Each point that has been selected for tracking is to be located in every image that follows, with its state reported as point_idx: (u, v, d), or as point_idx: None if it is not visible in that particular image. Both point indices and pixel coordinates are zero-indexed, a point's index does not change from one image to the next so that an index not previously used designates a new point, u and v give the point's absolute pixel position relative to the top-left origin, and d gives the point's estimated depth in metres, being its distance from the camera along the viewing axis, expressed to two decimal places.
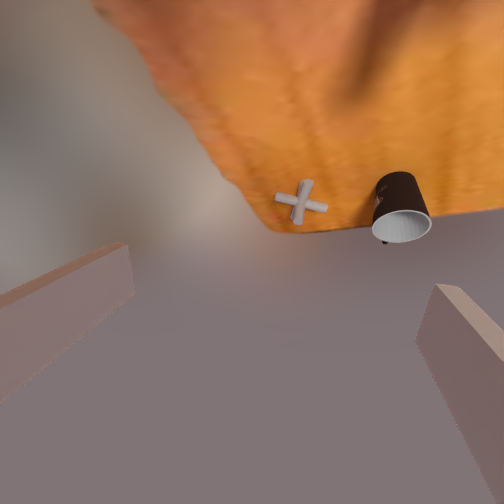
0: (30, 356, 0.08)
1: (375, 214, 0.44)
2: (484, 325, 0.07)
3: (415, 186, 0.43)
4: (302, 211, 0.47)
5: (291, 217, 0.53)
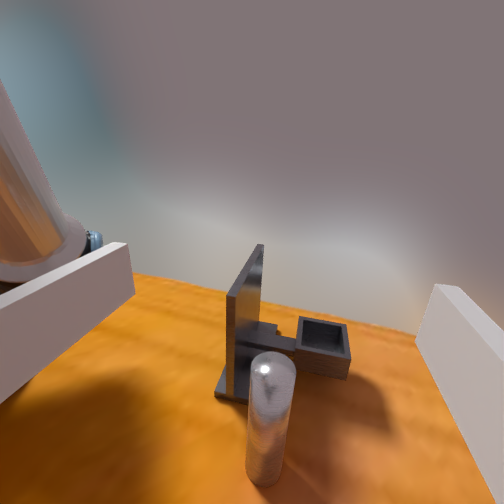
0: (30, 356, 0.08)
1: None
2: (484, 325, 0.07)
3: None
4: None
5: None
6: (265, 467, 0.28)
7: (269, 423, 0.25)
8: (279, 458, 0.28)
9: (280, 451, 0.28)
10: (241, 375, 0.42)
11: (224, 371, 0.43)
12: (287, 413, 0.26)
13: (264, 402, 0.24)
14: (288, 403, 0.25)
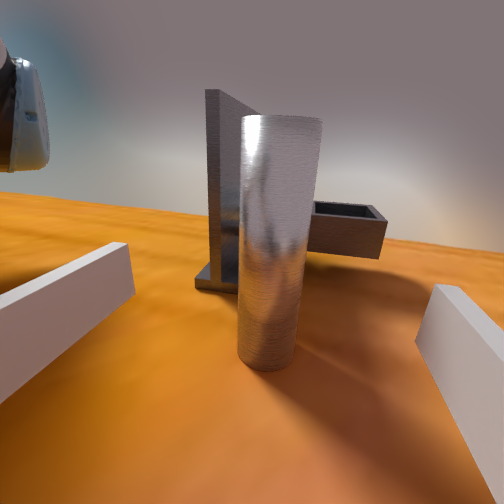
0: (30, 356, 0.08)
1: None
2: (484, 325, 0.07)
3: None
4: None
5: None
6: (269, 325, 0.17)
7: (275, 216, 0.14)
8: (292, 313, 0.17)
9: (294, 297, 0.17)
10: (233, 266, 0.31)
11: (210, 263, 0.31)
12: (307, 205, 0.14)
13: (266, 163, 0.13)
14: (310, 177, 0.14)
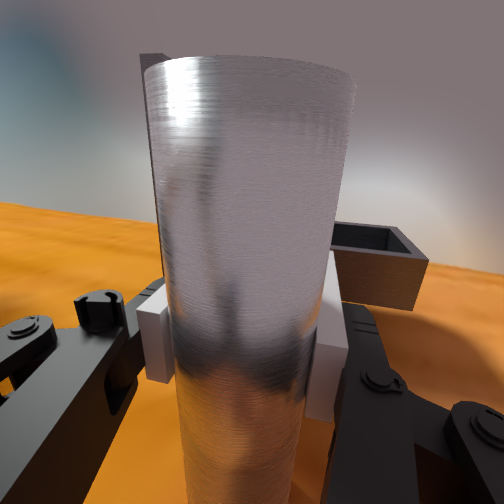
0: None
1: None
2: (326, 272, 0.10)
3: None
4: None
5: None
6: None
7: (233, 329, 0.06)
8: (281, 481, 0.09)
9: (285, 458, 0.08)
10: None
11: None
12: (314, 294, 0.06)
13: (201, 202, 0.05)
14: (321, 232, 0.05)
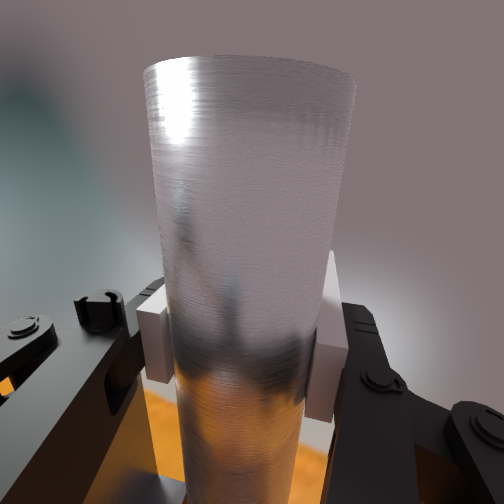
0: None
1: None
2: (326, 272, 0.10)
3: None
4: None
5: None
6: None
7: (233, 329, 0.06)
8: (281, 482, 0.09)
9: (284, 459, 0.08)
10: None
11: None
12: (314, 294, 0.06)
13: (201, 203, 0.05)
14: (321, 233, 0.05)
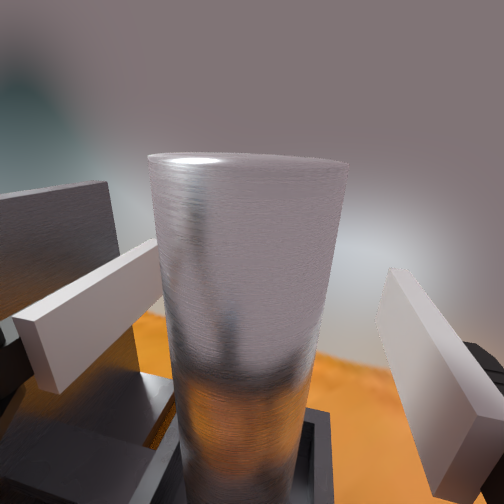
0: (91, 343, 0.09)
1: None
2: (419, 299, 0.08)
3: None
4: None
5: None
6: None
7: (232, 388, 0.06)
8: None
9: (281, 490, 0.09)
10: None
11: None
12: (308, 351, 0.06)
13: (201, 283, 0.05)
14: (315, 300, 0.06)
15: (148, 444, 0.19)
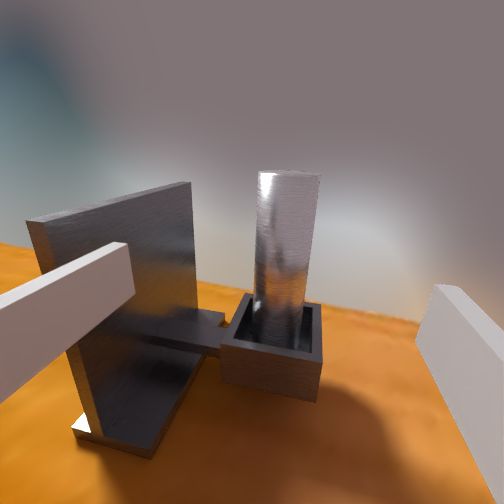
0: (30, 356, 0.08)
1: None
2: (484, 325, 0.07)
3: None
4: None
5: None
6: (279, 329, 0.21)
7: (284, 246, 0.18)
8: (296, 319, 0.22)
9: (298, 307, 0.21)
10: (135, 394, 0.24)
11: None
12: (308, 237, 0.19)
13: (278, 209, 0.18)
14: (310, 217, 0.18)
15: None
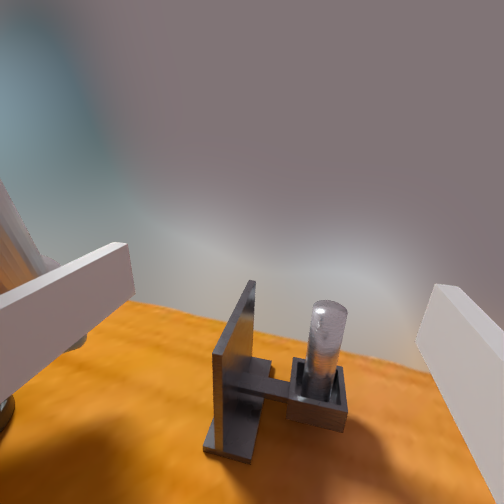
0: (30, 356, 0.08)
1: None
2: (484, 325, 0.07)
3: None
4: None
5: None
6: (321, 389, 0.37)
7: (328, 349, 0.34)
8: (331, 383, 0.37)
9: (332, 377, 0.37)
10: (232, 425, 0.39)
11: (214, 420, 0.40)
12: (340, 343, 0.35)
13: (325, 332, 0.33)
14: (342, 334, 0.34)
15: None
